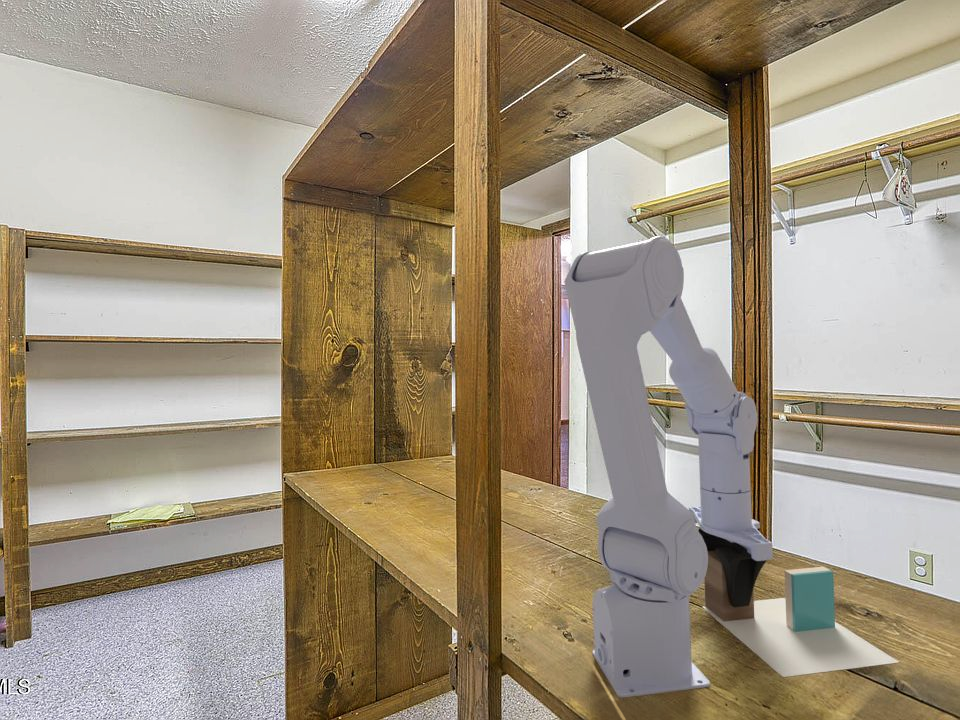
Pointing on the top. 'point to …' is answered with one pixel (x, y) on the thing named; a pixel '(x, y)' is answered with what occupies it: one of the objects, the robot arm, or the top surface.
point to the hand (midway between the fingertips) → (728, 596)
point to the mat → (801, 643)
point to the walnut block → (722, 593)
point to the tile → (809, 599)
